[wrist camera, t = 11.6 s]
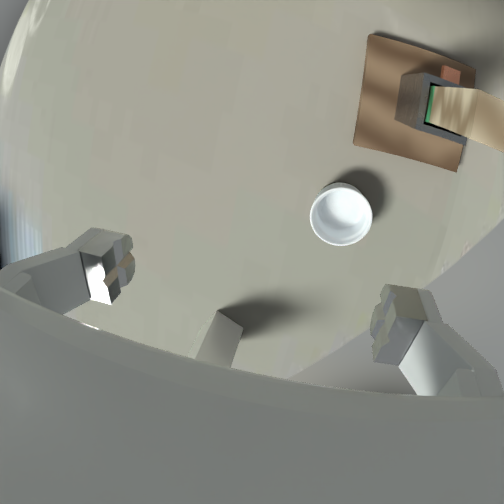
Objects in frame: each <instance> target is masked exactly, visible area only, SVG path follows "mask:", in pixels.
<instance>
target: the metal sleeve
mask: <svg viewBox="0 0 504 504" xmlns="http://www.w3.org/2000/svg"><path fill="white" fill-rule="evenodd" d="M460 72H461V71H458V70H456V69H453V68H451V67H448V66H445V65H443V66H442V69H441V77H440V78H439V77H436V76H433V75H430V74H428V73H415V74H407V75H401V79H400V86H399V93H398V100H397V106H396V112H395V117H394V120H396V121H398V122H401V123H403V124H405V125H407V126H409V127H411V128H413V129H416V130H419V131H423V132H426V133H429V134H432V135H436V136H439V137H442V138H445V139H448V140H451V141H454V142H456V143H459V144H462V145H466V141H467V137H465V136H462V135H460V134H458V133H455V132H453V131H450V130H448V129H445V128H443V127H440V126H438V125H435V124H432V125H431V124H428V123H425V122H424V118H425V112H426V106H427V100H428V94H429V87H430V86H437V87H456V88H465V87H463V86H460V85H459V80H460Z"/></svg>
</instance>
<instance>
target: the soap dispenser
mask: <svg viewBox="0 0 504 504" xmlns="http://www.w3.org/2000/svg"><path fill="white" fill-rule="evenodd" d="M242 331H243V327H241V326H240V325H238V324H237V323H235V322H234V321H232V320H231V319H229V318H228V317H226V316H225V315H223V314H222V313H220V312H219V311H216V312H215V313H214V314H213V315H212V316H211V317H210V318H209V319H208V320H207V321H206V322H205V323H204V324H203V326H202V327H201V329H200V331H199V333H198V335H197V337H196V339H195V341H194V343H193V345H192V347H191V349H190V352H189V354H188V356H187V357H189V358H193V359H197V360H201V361H204V362H208V363H212V364H216V365H221V366H225V367H229V368H230V367H231V365H232V362H233V359H234V356H235V353H236V350H237V347H238V344H239V341H240V338H241V335H242Z"/></svg>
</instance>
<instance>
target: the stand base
mask: <svg viewBox="0 0 504 504" xmlns="http://www.w3.org/2000/svg"><path fill="white" fill-rule="evenodd" d="M443 65H445V66H448V67H451V68H453V69H456V70H458V71H461V72H460V80H459V85H460V86H463V87H465V88H469V89H474V82H475V74H476V69H474V68H472V67H469V66H467V65H465V64H462V63H460V62H457V61H455V60H452V59H450V58H447V57H445V56H442V55H439V54H436V53H434V52H431V51H428V50H425V49H422V48H419V47H416V46H412V45H409V44H406V43H403V42H399V41H396V40H392V39H388V38H384V37H380V36H376V35H372V34H370V35H369V36H368V40H367V49H366V58H365V66H364V74H363V81H362V88H361V95H360V102H359V109H358V115H357V121H356V127H355V133H354V139H353V144H354V145H355V146H360V147H365V148H369V149H373V150H378V151H382V152H386V153H390V154H394V155H398V156H402V157H406V158H409V159H413V160H417V161H420V162H424V163H427V164H431V165H434V166H438V167H441V168H444V169H447V170H451V171H454V172H457V169H458V165H459V161H460V157H461V153H462V148H463V145H462V144H459V143H456V142H454V141H451V140H448V139H445V138H442V137H439V136H436V135H432V134H429V133H426V132H423V131H419V130H416V129H413V128H411V127H409V126H407V125H405V124H403V123H401V122H398V121H396V120H394V117H395V112H396V106H397V100H398V93H399V86H400V79H401V75H407V74H415V73H428V74H430V75H433V76H436V77H439V78H440V77H441V69H442V66H443ZM424 122H425V123H428V124H431V125H432V123H429V122H426V121H424Z"/></svg>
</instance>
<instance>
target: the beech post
mask: <svg viewBox="0 0 504 504" xmlns="http://www.w3.org/2000/svg"><path fill="white" fill-rule="evenodd" d="M424 121H426V122H429V123H432V124H435V125H438V126H440V127H443V128H445V129H448V130H450V131H453V132H455V133H458V134H460V135H462V136H465V137H467V138H469V139H472V140H474V141H477V142H480V143H482V144H485V145H487V146H489V147H492V148H494V149H497V150H499V151H501V152H504V101H503V100H501V99H499V98H497V97H495V96H492V95H490V94H488V93H486V92H484V91H481V90H479V89H469V88H456V87H437V86H430V87H429V94H428V100H427V106H426V112H425V118H424Z"/></svg>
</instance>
